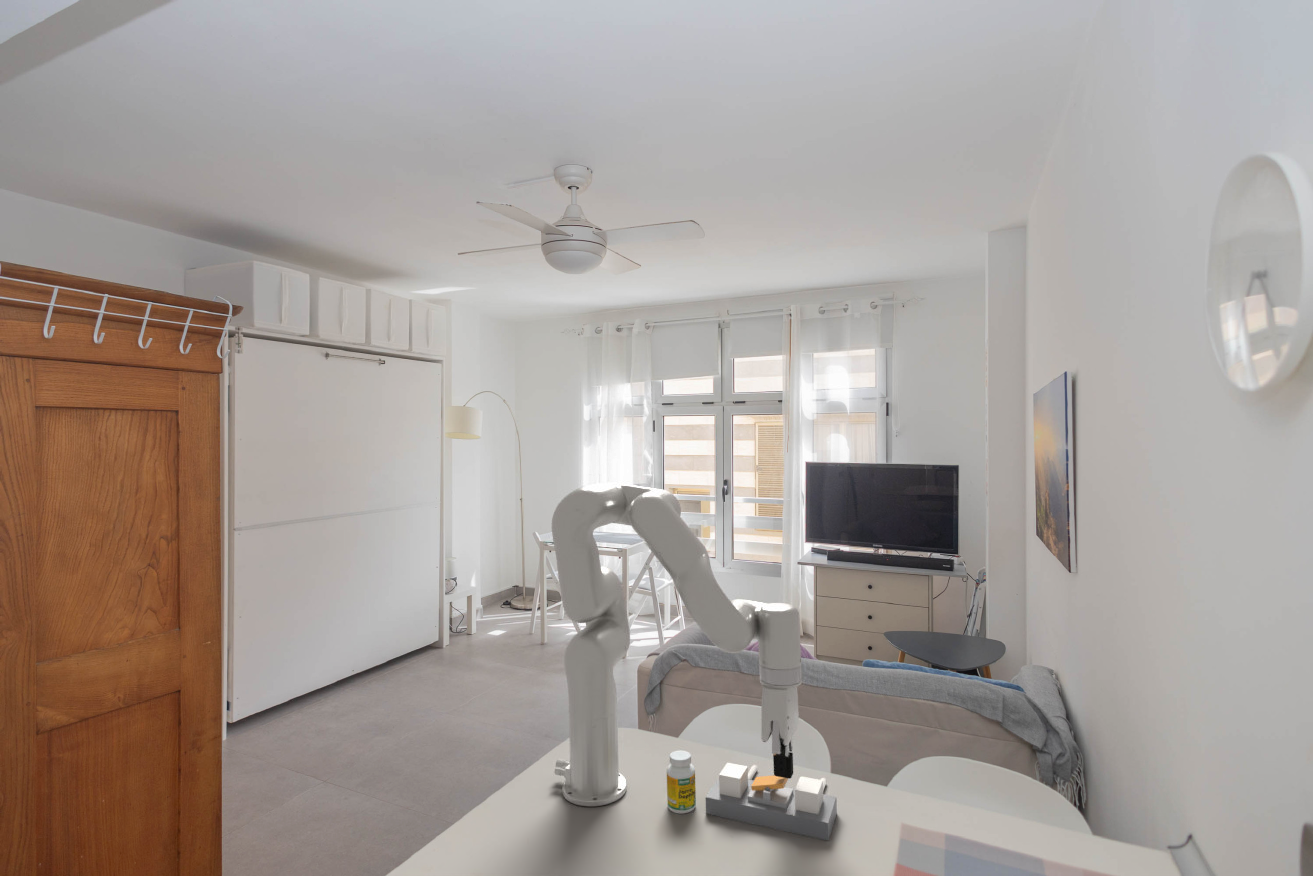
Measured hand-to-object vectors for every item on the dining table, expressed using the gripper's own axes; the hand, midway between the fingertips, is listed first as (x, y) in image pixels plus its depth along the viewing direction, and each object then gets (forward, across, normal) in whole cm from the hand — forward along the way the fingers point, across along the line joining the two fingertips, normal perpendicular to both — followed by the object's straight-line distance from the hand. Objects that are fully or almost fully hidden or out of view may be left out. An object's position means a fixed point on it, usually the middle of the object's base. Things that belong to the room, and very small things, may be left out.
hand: (783, 775), depth 118 cm
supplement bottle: (+7, +4, -18) cm, 20 cm away
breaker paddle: (+2, 0, -2) cm, 3 cm away
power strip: (+7, -5, -3) cm, 9 cm away
